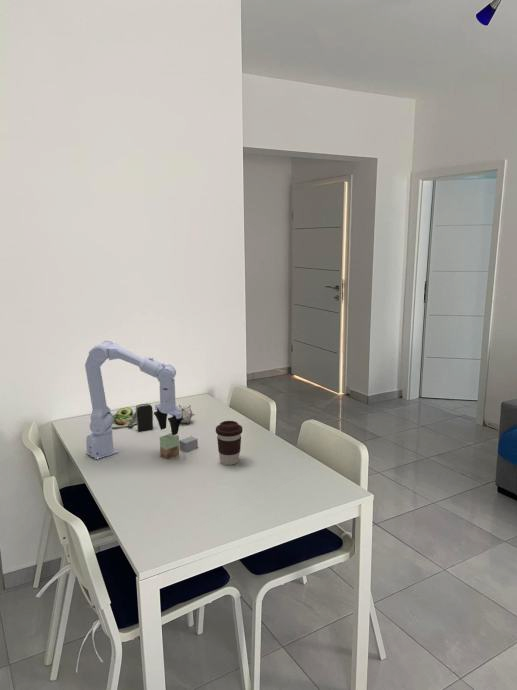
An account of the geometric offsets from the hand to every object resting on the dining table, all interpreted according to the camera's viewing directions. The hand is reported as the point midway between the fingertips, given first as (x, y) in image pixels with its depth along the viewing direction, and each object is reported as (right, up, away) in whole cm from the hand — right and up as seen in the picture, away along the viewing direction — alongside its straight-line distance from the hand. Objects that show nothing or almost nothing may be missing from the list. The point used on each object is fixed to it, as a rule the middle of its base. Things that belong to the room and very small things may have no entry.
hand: (168, 431), depth 202 cm
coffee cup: (+23, -11, -3) cm, 26 cm away
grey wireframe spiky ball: (+1, -2, +36) cm, 36 cm away
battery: (-15, -4, +29) cm, 33 cm away
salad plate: (-28, -2, +38) cm, 47 cm away
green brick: (0, -6, +1) cm, 6 cm away
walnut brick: (0, -10, +2) cm, 10 cm away
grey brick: (+6, -8, +8) cm, 13 cm away
